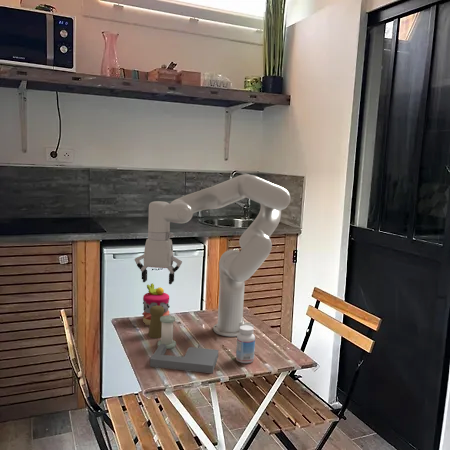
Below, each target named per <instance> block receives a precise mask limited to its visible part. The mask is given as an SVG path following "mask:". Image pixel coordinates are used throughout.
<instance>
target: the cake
mask: <svg viewBox="0 0 450 450" xmlns="http://www.w3.org/2000/svg"><path fill="white" fill-rule="evenodd" d="M146 288H147V289H148V290H147V291H148V292H147V293H144V295H143V297H142V305H143V313H141V314H142V316H143V317H142V321H143V322H144V323H145V324H144V323H143V324H144V325H145V326H148V325H150V321H151V314H150V309H151V307H153V306H162V307H163V308H164V314H163V316H166V315H169V316H170V309H169V308H170V305H169V302H170V295H169V294H168V293H166V292H165V289H164V288H163V287H156V288H155V284H154V282H153V283H150V284H147V285H146Z"/></svg>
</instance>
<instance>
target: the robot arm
mask: <svg viewBox="0 0 450 450" xmlns="http://www.w3.org/2000/svg"><path fill="white" fill-rule="evenodd" d="M244 199H248V200H251V201H253V202H255V203H258V204H260V210H259V213H258V214H257V216H256V217H255V219H254V220H253V221H252V222H251V224H250V225H249V226H248V227H247V229H245V230H244V231H243V233H242V234H241V235H240V238H239V242H238V243H239V246H240V248H241V249H240V251H239V250H235V249H227V250H226V251H224V252H223V253H222V254H221V256H220V257H219V258H220V259H219V262H218V271H219V287H218V288H219V291H218V293H219V294H218V307H217V308H218V311H217V323H216V324H214V326H213V329H212V330H213V331H214V332H213V333H215V334H216V335H219V336H223V337H233V338H234V337H237V335H238V334H239V333H240V332H239V328H240V326H243V325H248V326H252V327H253V328H255V327H254V325H255V324H252V322H248V321H244V320H245V318H244V317H243V316H244V315H243V314H244V301H245V300H244V298H245V282H246V281H247V280H249V279H250V278H251V277H252V276H253V275H254V274H255V273H256V271H257V270H258V269H259V268H260V267H261V266H262V265H263V263H264V262H265V261H266V259H267V258H268V257H269V256H270V254H271V252H272V247H273V244H272V240H271V236H272V235H273V233H274V231H276V229H277V227H278V226H279V223H280V221H281V217H282V211H283V210H285V209H287V208H288V206H289V205H290V204H291V195H290V192H289V190H287V189H286V188H284V187H283V186H280V185H278V184H276V183H272V182H270V181H268V180H266V179H264V178H261V177H259V176H257V175H254V174H248V173H243V174H240V175H237V176H234V177H232V178H230V179H228V180H225V181H222V182H220V183H217V184H215V185H212V186H210V187H206V188H204V189H201V190H198V191H195V192H190V193H188V194H186V195H183V196H181V197H178V198H175V199H174V200H172V201H170V203H169V202H167V201H159V200H158V201H151V202H150V203H149V205H148V222H147V224H148V227H147V228H148V231H147V232H148V233H147V234H148V236H147V238H146V241H145V245H144V249H143V250H144V251H143V252H144V253H143V254H141V255H139V256H137V257H135V258H134V262H135V263H136V267H137V268H138V269H139V270H140V271H141V280H142V283H146V282H147V281H148V270H147V268H157V269H167V270H168V272H169V274H168V284H169V285H172V284H173V283H174V282H175V273H176V272H177V271H178V270H179V268H181V265H182V263H183V261H182V260H180V259H179V258H177V257H175V256H174V248H173V241H172V240H173V239H171V238H174V233H171V231H170V229H171V228H170V227H171V226H170V224H171V223H174V224H185V223H188V222H189V221H191V220H192V218H193V217H194V216H193V215H194V214H195V213H197V212H198V213H199V212H201V211H205V210H216V209H217V210H218V209H221V208H224V207H226V206H228V205H229V206H230V205H231V204H234V203H236V202H238V201H241V200H244ZM141 260H143V263H141ZM174 263H176V265H175V267H174Z"/></svg>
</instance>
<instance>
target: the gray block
mask: <svg viewBox="0 0 450 450" xmlns="http://www.w3.org/2000/svg"><path fill="white" fill-rule="evenodd" d="M166 352H167V349H166V344H160V345H159V347H158V346H157V348H156V350H155V351H154V353H153V354H152V355H151V357H150V359H149V360H150V361H149V367H150V368H151V367H152V368H161V369H169V370H178V371H179V370H180V371H187V372H188V371H189V372H196V373H206V374H213V373H214V370H215V368H216V365H217V363H218V362H217V361H218V359H219V349H215V348H204V347H196V346H195V347H194V346H189V347H188V348H187V350H186V352H185V353H184V354H185V355H184V356H179V355H170V354H169V355H168V354H166Z"/></svg>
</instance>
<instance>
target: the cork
mask: <svg viewBox="0 0 450 450" xmlns="http://www.w3.org/2000/svg"><path fill="white" fill-rule="evenodd" d="M150 314H151V321H150V326H148V327H149V328H148V333H147V336H148V337H149V338H152V339H161V331H162V322H161V321H160V317H162V316H163V314H164V308H163V307H162V306H153V307H151V309H150Z"/></svg>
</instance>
